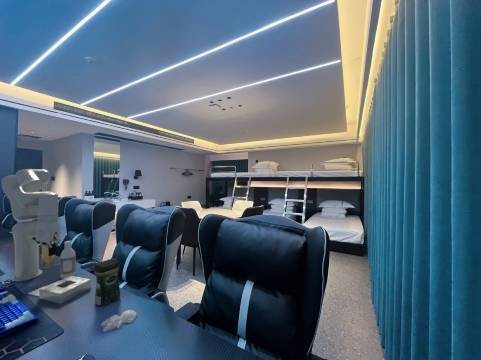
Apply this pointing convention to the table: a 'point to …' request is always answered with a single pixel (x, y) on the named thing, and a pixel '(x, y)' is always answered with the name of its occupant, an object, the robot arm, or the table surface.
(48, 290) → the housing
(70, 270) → the bath foam
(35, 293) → the mat
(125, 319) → the astronaut figurine
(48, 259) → the end cover
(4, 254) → the table surface
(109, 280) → the coffee jar
